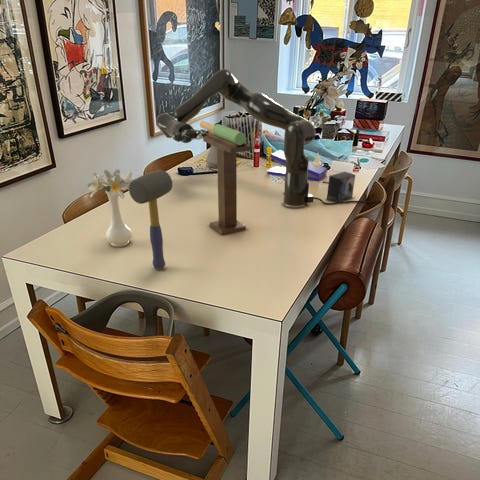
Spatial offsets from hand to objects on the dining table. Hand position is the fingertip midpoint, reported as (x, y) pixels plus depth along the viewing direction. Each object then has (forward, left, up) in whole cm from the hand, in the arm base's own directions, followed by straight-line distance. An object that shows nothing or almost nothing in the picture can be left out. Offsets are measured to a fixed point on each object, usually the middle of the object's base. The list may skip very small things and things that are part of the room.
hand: (198, 138), depth 188 cm
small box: (-59, +14, -27) cm, 66 cm away
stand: (-2, +29, -27) cm, 39 cm away
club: (-1, +24, +7) cm, 25 cm away
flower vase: (+38, +29, -27) cm, 55 cm away
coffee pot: (-28, -52, -27) cm, 65 cm away
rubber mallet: (+29, +54, -27) cm, 67 cm away
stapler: (-57, -26, -27) cm, 68 cm away
